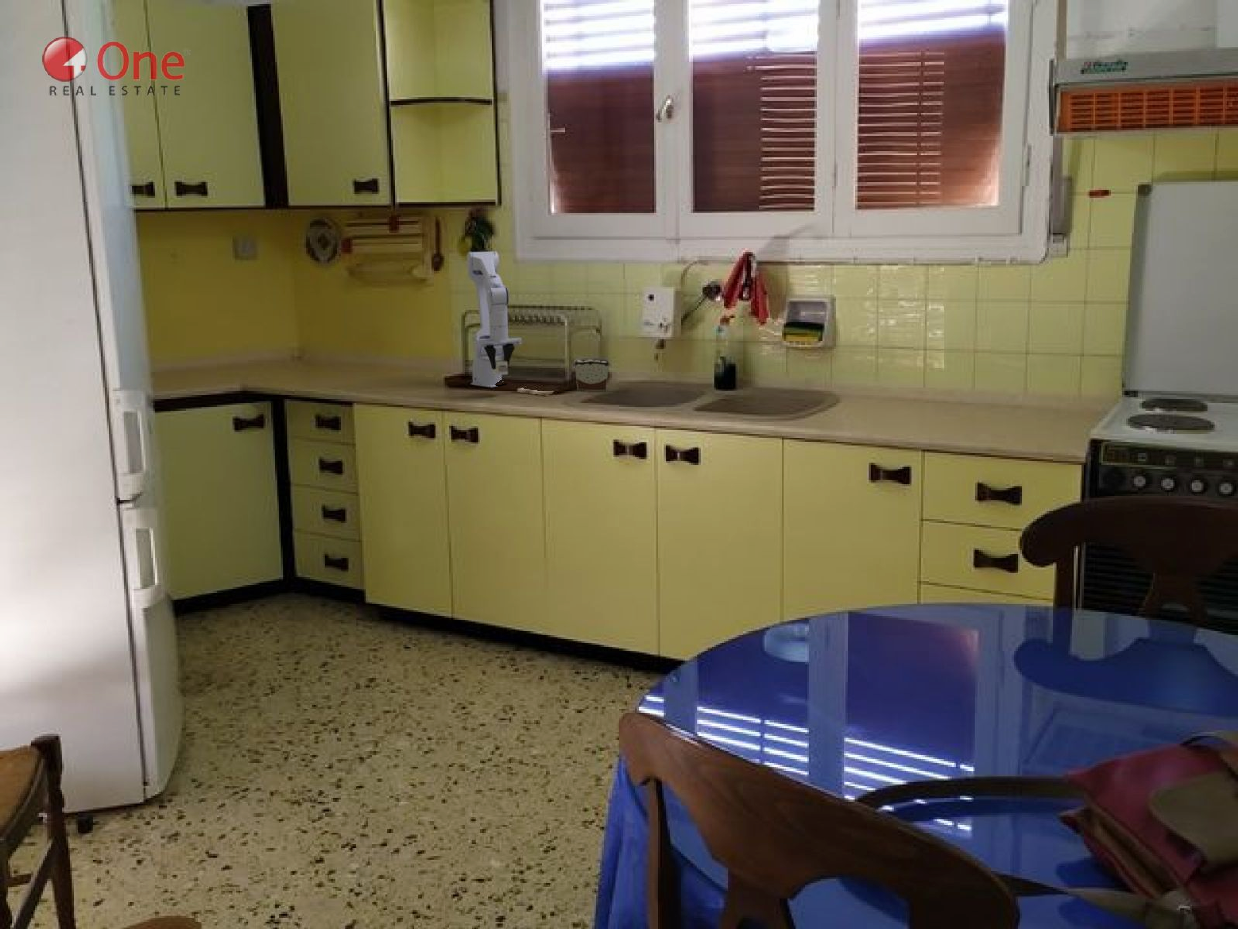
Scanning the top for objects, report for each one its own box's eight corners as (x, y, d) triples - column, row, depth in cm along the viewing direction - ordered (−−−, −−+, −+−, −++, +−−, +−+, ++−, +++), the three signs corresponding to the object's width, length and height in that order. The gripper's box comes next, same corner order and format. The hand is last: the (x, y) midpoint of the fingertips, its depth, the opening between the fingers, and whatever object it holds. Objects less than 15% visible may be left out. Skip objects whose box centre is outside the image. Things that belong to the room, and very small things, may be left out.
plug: (491, 372, 376) (490, 359, 375) (501, 371, 378) (501, 358, 377) (498, 376, 369) (498, 363, 368) (509, 375, 371) (509, 362, 370)
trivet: (517, 391, 379) (517, 388, 379) (541, 385, 388) (541, 382, 388) (546, 396, 372) (546, 392, 372) (569, 389, 381) (569, 386, 381)
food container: (612, 387, 386) (612, 357, 383) (610, 390, 380) (610, 360, 377) (575, 386, 387) (575, 356, 384) (573, 390, 381) (572, 359, 378)
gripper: (480, 328, 363) (481, 372, 367) (524, 325, 369) (525, 368, 373) (473, 325, 370) (475, 368, 373) (517, 322, 375) (518, 364, 379)
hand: (499, 368), depth 373 cm, fingers closed on plug, 4 cm apart
